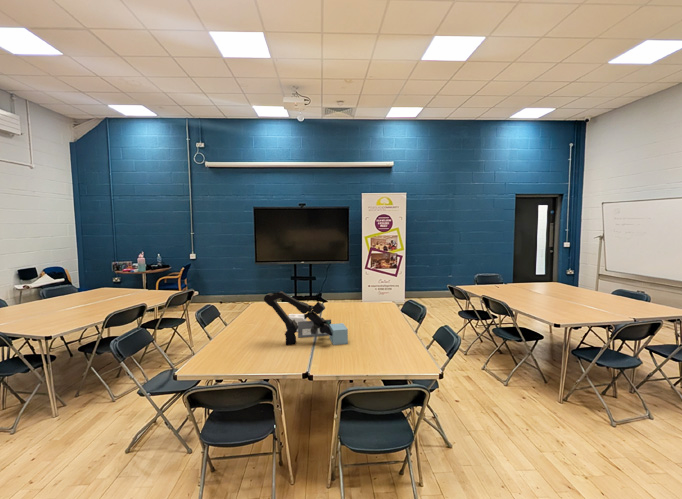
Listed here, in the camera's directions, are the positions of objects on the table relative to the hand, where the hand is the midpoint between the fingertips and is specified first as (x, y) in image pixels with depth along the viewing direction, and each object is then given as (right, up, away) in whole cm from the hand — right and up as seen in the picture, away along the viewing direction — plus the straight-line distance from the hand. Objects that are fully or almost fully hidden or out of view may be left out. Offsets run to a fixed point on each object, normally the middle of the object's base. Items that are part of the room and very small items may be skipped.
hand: (330, 333), depth 215 cm
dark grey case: (-7, -6, +4) cm, 11 cm away
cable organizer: (-28, -5, +27) cm, 39 cm away
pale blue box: (+5, -6, +2) cm, 8 cm away
